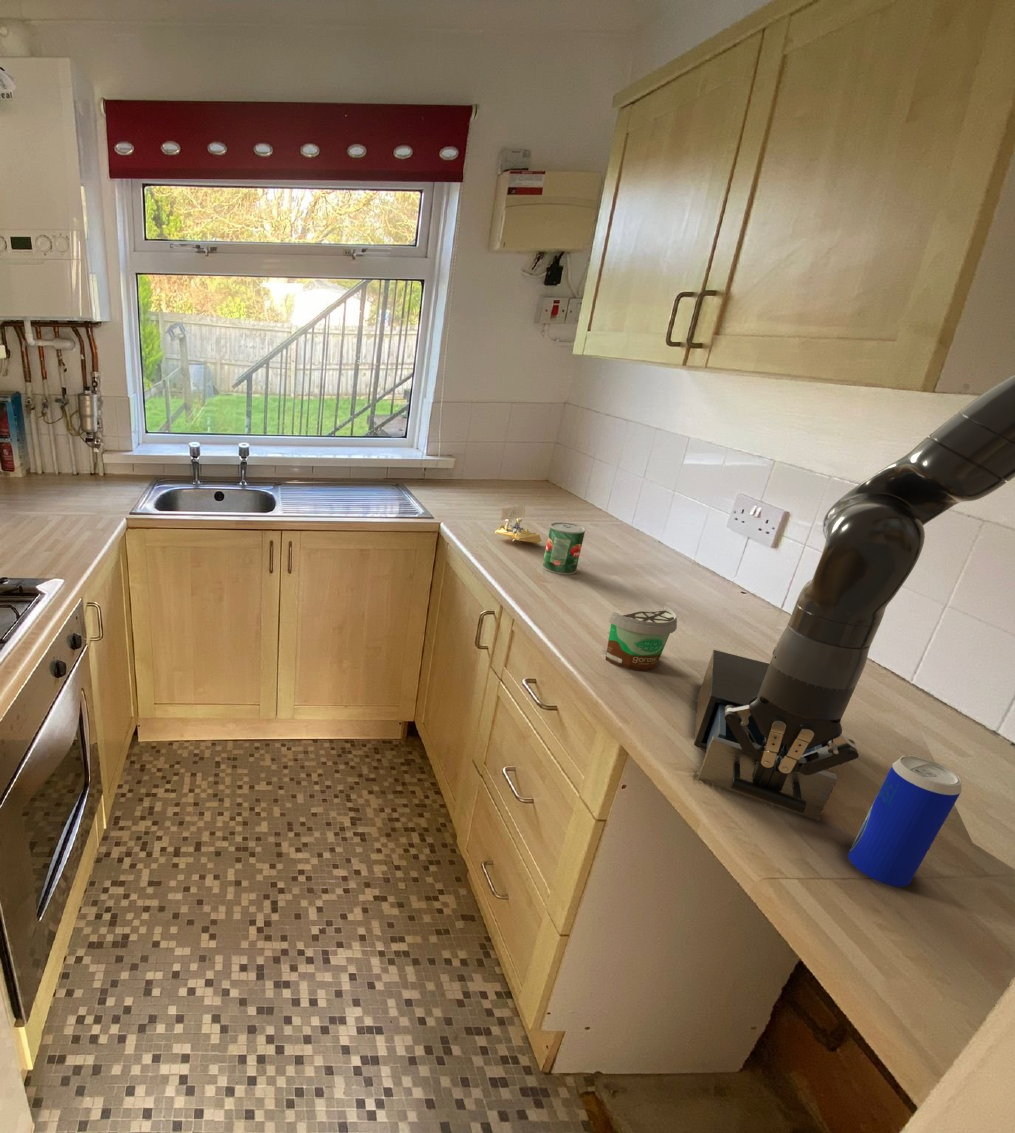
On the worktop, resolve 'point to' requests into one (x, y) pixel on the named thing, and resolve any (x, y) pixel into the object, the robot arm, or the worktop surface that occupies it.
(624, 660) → the food container
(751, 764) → the drawer
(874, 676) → the worktop surface
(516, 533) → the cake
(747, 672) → the cabinet
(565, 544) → the canned tomato
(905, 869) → the beverage can
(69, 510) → the worktop surface
